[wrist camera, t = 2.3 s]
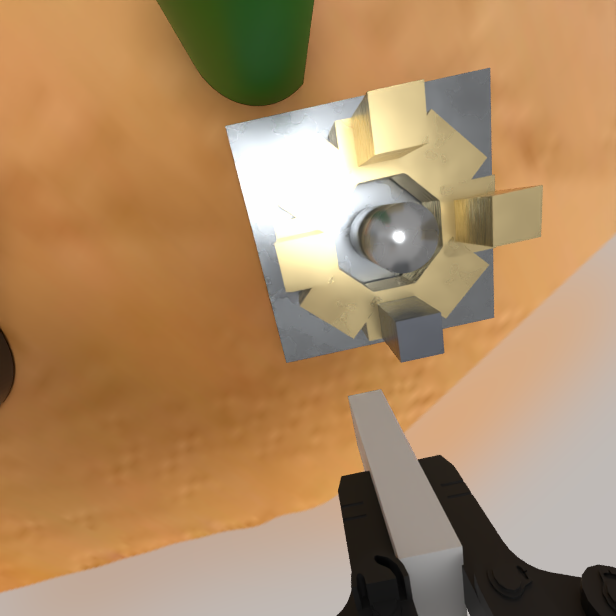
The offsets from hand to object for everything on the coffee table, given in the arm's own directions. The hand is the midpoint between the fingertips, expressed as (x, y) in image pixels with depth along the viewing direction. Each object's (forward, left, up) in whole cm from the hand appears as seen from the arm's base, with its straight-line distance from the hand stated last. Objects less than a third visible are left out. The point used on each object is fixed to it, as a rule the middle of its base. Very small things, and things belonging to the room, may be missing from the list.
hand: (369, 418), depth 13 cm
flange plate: (+5, +6, -16) cm, 18 cm away
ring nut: (+5, +6, -14) cm, 16 cm away
